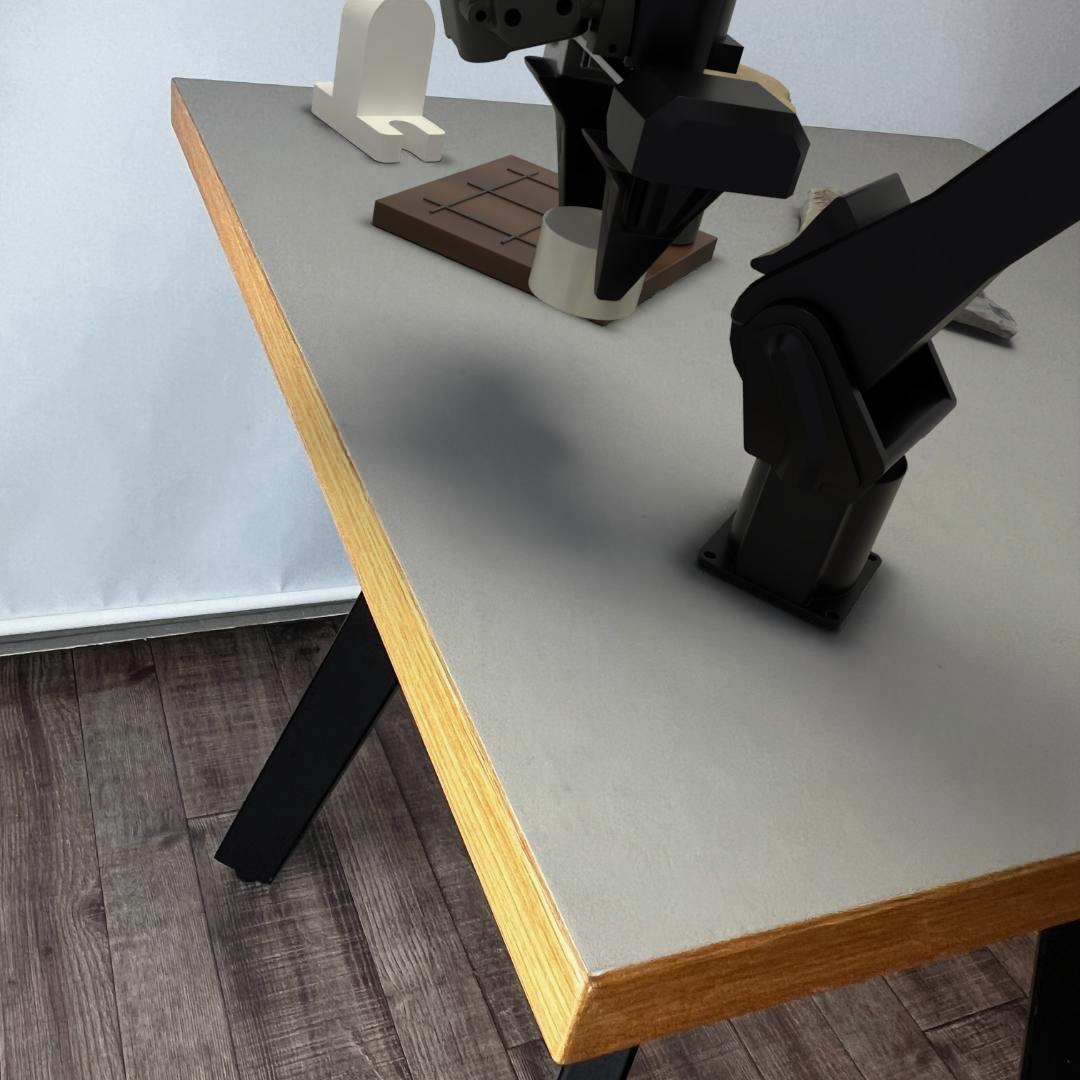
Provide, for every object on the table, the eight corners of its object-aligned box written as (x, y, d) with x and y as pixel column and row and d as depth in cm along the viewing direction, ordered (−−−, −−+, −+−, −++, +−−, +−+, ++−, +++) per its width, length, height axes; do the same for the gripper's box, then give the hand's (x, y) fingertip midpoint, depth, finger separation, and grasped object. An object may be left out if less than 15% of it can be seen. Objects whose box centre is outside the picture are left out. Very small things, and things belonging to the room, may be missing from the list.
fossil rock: (796, 204, 95) (807, 175, 94) (987, 260, 94) (1000, 230, 93) (786, 282, 81) (798, 248, 79) (1011, 349, 80) (1027, 315, 78)
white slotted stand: (371, 109, 92) (391, -34, 86) (444, 161, 86) (470, 10, 80) (308, 109, 89) (324, -40, 83) (378, 162, 83) (400, 6, 77)
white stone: (606, 331, 51) (624, 264, 49) (507, 287, 52) (522, 220, 51) (653, 301, 55) (672, 237, 53) (560, 260, 56) (576, 197, 54)
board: (603, 326, 69) (610, 299, 68) (371, 224, 74) (375, 198, 73) (711, 258, 81) (719, 235, 80) (506, 175, 86) (511, 152, 85)
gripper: (422, -217, 49) (368, 168, 57) (548, -126, 34) (451, 367, 43) (679, -159, 52) (591, 195, 61) (888, -55, 38) (735, 386, 47)
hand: (588, 272), depth 53 cm, fingers closed on white stone, 5 cm apart
